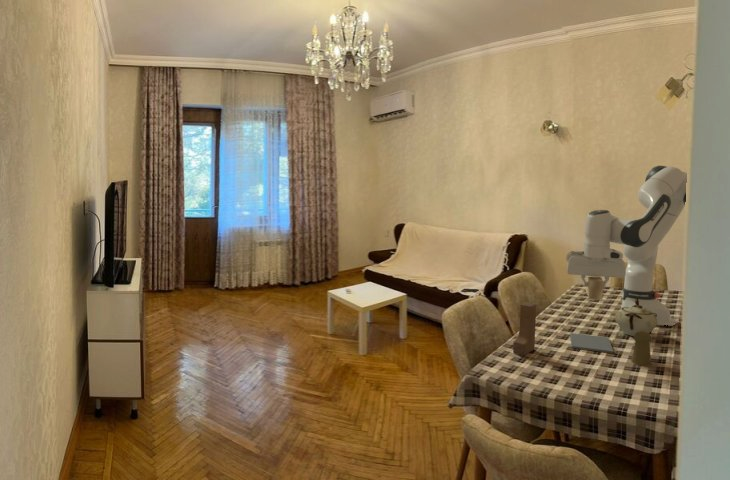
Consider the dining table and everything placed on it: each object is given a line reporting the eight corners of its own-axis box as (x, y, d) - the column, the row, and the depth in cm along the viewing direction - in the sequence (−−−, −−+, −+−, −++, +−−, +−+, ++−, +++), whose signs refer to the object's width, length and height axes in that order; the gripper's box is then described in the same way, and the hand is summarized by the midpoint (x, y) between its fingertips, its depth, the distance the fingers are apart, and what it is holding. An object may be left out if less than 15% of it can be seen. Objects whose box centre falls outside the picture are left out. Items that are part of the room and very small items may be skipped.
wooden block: (524, 356, 158) (526, 309, 156) (512, 352, 162) (514, 306, 159) (534, 349, 165) (536, 304, 162) (523, 346, 168) (525, 302, 165)
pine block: (599, 274, 173) (603, 281, 160) (598, 291, 174) (602, 299, 161) (586, 273, 175) (589, 280, 162) (585, 290, 176) (589, 298, 163)
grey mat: (608, 339, 175) (608, 337, 175) (613, 353, 160) (613, 351, 160) (570, 334, 180) (570, 332, 180) (571, 347, 166) (572, 346, 166)
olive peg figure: (627, 359, 155) (629, 330, 153) (642, 358, 155) (645, 329, 154) (639, 366, 149) (641, 336, 147) (655, 365, 149) (658, 335, 148)
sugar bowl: (620, 324, 193) (622, 292, 191) (659, 331, 183) (662, 297, 181) (608, 335, 179) (611, 301, 177) (651, 344, 169) (654, 307, 167)
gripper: (567, 252, 167) (565, 286, 168) (627, 254, 159) (625, 291, 161) (566, 249, 172) (564, 283, 174) (625, 252, 165) (622, 287, 166)
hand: (594, 287), depth 167 cm, fingers closed on pine block, 4 cm apart
